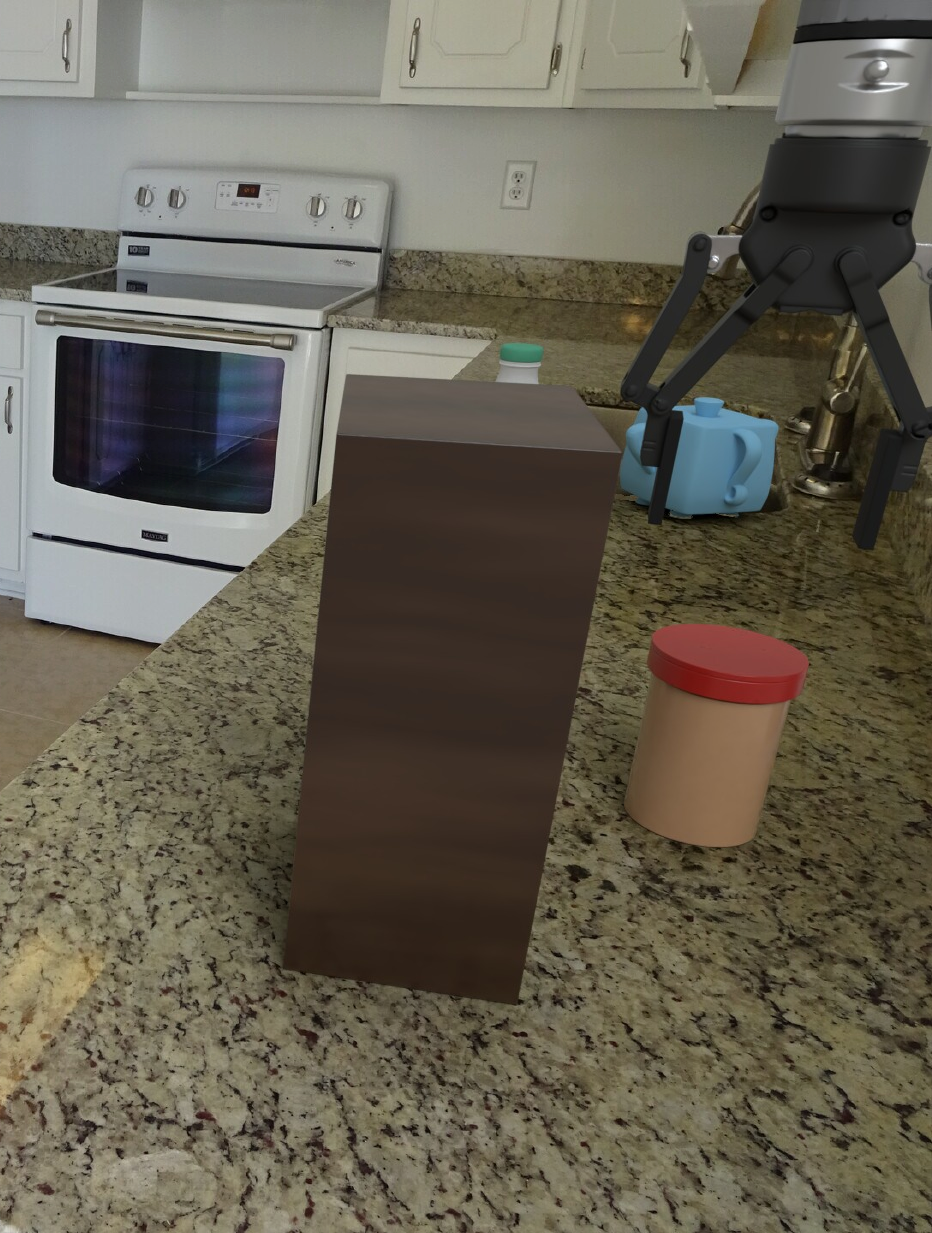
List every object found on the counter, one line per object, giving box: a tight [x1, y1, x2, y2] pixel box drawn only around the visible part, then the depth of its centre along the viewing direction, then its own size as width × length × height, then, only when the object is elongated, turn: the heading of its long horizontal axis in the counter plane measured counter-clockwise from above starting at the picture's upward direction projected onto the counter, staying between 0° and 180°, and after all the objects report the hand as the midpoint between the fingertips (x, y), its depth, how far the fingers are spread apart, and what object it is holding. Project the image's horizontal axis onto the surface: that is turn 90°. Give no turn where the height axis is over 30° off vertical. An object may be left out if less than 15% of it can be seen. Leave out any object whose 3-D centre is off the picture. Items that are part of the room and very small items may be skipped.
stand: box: [282, 373, 624, 1005], centre depth 67 cm, size 16×12×29 cm
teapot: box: [619, 396, 780, 517], centre depth 151 cm, size 18×16×14 cm
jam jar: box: [623, 672, 792, 848], centre depth 80 cm, size 8×8×12 cm
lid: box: [646, 623, 810, 704], centre depth 78 cm, size 9×9×2 cm
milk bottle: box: [494, 342, 544, 384], centre depth 145 cm, size 8×8×20 cm
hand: (755, 530), depth 75 cm, fingers open, 10 cm apart
